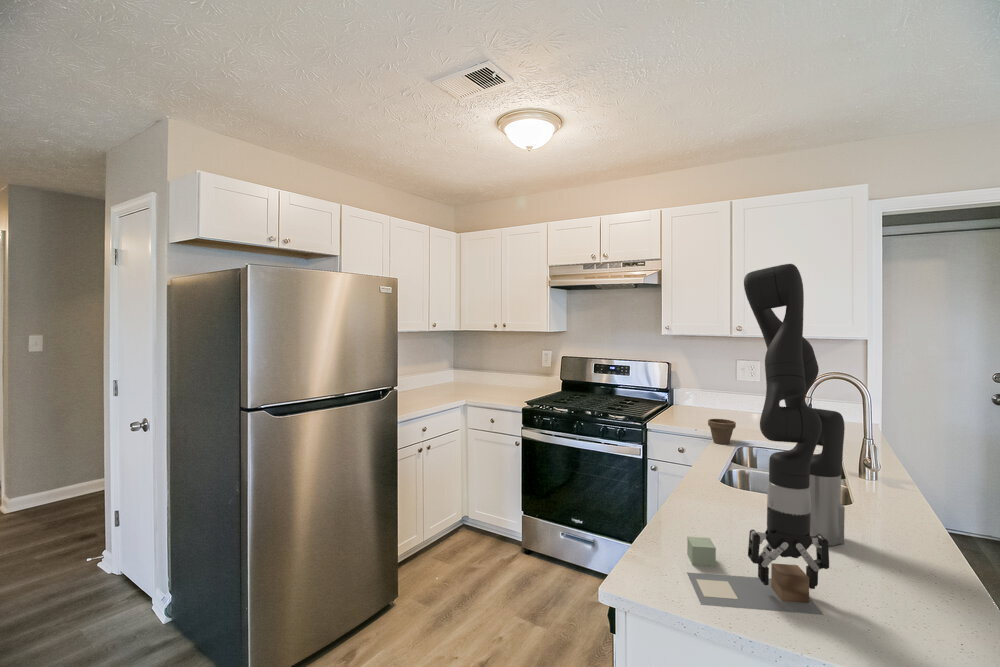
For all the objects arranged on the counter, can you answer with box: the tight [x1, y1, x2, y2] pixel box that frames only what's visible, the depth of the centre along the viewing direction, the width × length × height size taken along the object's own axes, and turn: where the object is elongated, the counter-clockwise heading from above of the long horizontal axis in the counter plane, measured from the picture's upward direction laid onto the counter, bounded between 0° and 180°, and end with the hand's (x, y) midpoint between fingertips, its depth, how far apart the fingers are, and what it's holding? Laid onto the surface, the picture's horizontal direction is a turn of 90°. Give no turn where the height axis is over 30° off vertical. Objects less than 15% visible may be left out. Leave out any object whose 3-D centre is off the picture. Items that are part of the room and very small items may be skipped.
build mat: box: [686, 571, 825, 615], centre depth 98 cm, size 22×12×1 cm, turn 81°
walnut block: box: [770, 562, 810, 603], centre depth 96 cm, size 5×5×5 cm
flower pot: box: [707, 418, 737, 445], centre depth 217 cm, size 12×11×10 cm
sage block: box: [686, 536, 717, 568], centre depth 110 cm, size 5×5×5 cm
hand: (787, 585), depth 96 cm, fingers open, 8 cm apart
